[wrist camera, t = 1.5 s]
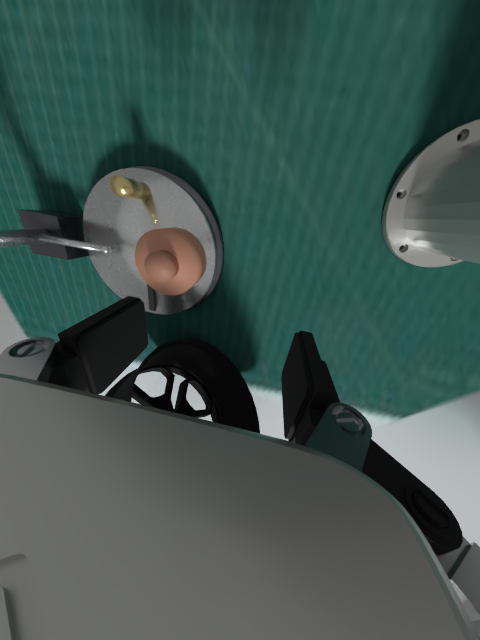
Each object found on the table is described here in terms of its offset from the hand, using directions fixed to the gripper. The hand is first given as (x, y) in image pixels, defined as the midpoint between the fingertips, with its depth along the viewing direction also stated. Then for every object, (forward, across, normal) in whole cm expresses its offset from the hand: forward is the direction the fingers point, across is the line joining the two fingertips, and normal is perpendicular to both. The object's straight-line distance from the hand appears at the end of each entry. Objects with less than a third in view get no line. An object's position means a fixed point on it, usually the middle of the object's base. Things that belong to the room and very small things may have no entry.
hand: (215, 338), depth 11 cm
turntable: (+16, +13, 0) cm, 21 cm away
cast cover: (+15, +9, 0) cm, 17 cm away
